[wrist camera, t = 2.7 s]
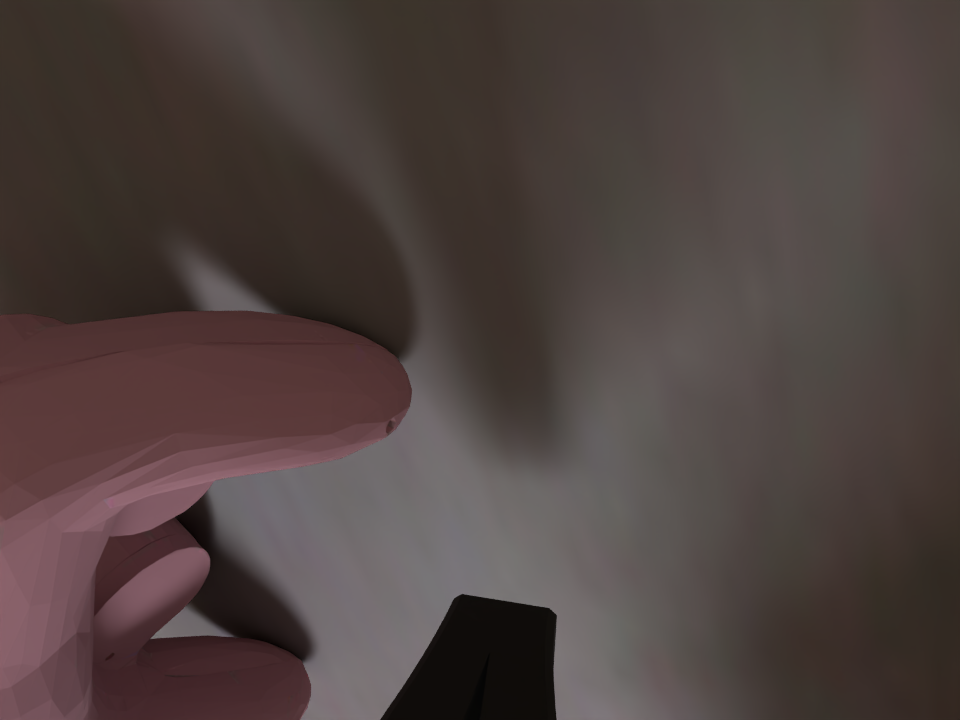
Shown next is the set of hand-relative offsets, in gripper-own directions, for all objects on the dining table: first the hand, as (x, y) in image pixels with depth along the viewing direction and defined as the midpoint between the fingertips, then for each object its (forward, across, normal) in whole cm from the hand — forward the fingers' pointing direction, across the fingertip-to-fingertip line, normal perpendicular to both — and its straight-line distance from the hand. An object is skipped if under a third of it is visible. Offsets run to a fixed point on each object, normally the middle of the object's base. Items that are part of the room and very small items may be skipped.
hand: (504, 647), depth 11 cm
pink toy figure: (+3, +6, 0) cm, 6 cm away
